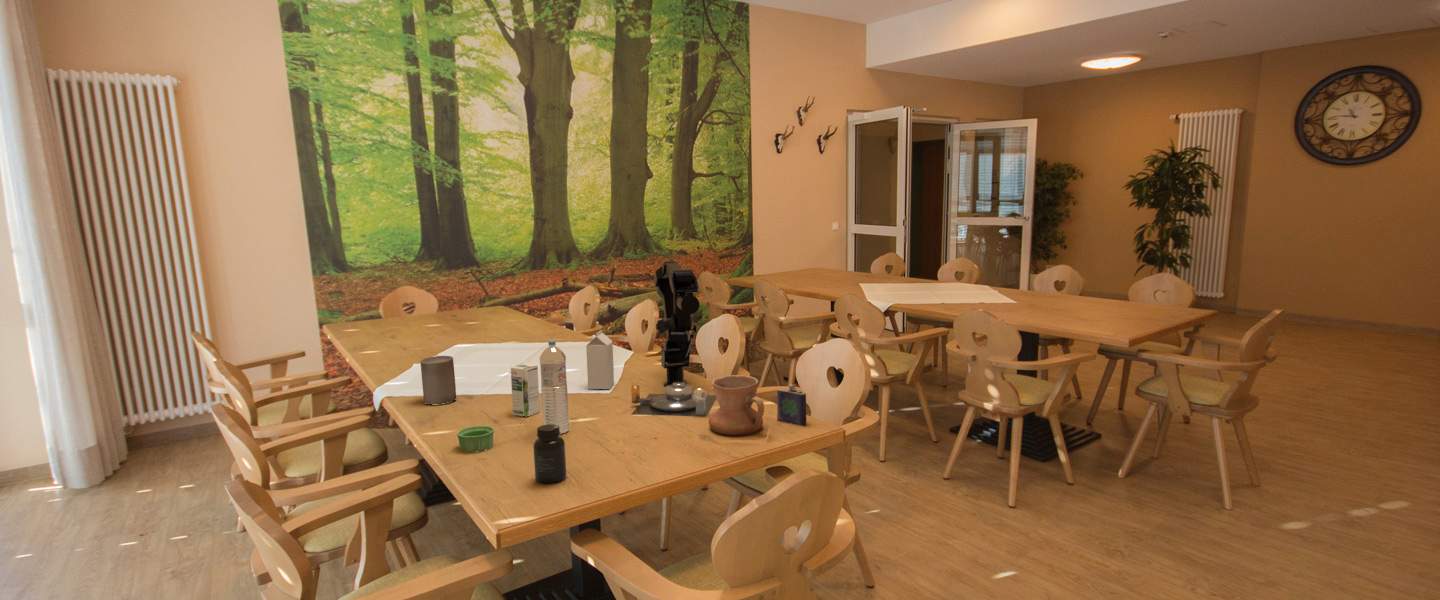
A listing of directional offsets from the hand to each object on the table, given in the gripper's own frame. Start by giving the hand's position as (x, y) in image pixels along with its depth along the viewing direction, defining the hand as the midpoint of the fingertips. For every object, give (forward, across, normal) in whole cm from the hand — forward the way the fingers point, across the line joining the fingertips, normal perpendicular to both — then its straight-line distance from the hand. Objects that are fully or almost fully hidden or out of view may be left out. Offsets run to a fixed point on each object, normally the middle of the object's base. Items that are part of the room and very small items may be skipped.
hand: (684, 358), depth 226 cm
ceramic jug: (+12, +34, +21) cm, 42 cm away
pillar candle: (+12, +13, -76) cm, 78 cm away
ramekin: (+12, +52, -44) cm, 69 cm away
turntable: (+11, +13, -3) cm, 17 cm away
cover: (+10, +10, 0) cm, 14 cm away
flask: (+12, +24, +35) cm, 44 cm away
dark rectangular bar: (+11, +22, +9) cm, 27 cm away
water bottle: (+12, +38, -28) cm, 49 cm away
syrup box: (+12, +23, -43) cm, 50 cm away
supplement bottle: (+12, +70, -17) cm, 74 cm away
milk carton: (+12, -8, -30) cm, 33 cm away
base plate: (+12, +14, 0) cm, 18 cm away
